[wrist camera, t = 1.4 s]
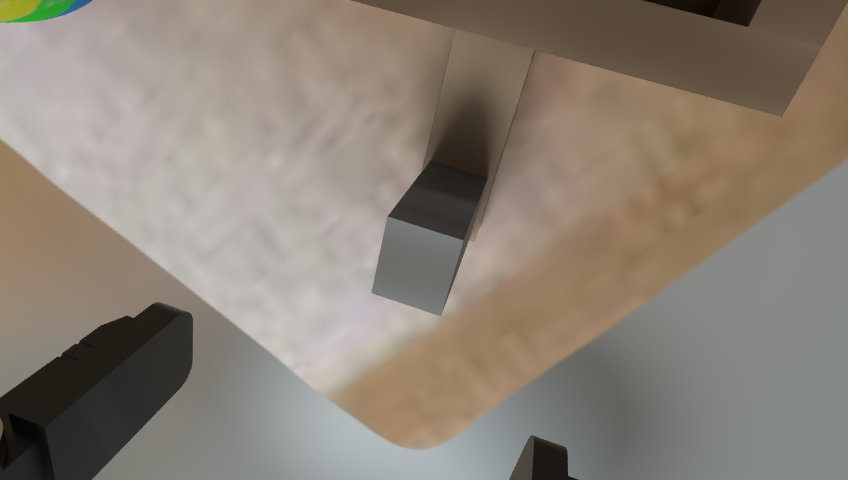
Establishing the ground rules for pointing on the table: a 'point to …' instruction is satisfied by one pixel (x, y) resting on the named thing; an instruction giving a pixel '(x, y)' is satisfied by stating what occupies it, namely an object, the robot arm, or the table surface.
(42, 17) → the decorative egg
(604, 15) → the frame
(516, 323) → the table surface
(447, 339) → the table surface
